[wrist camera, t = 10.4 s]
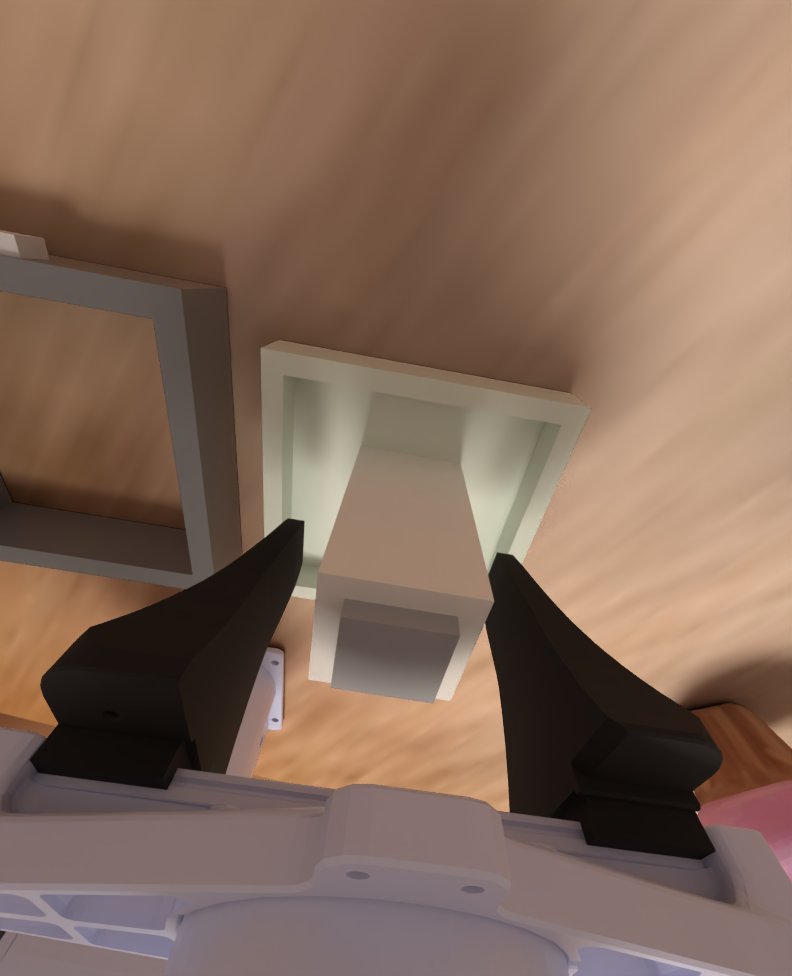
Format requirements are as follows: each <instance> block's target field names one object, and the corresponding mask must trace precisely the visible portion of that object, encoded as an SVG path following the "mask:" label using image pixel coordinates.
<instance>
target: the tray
mask: <svg viewBox="0 0 792 976" xmlns="http://www.w3.org/2000/svg"><path fill="white" fill-rule="evenodd" d="M260 349H261V398H262V448H263V497H264V538H265V537H266V536H267V535H268V534H270V533H271V532H272V531H273V530H274V529H275V528H277V527H278V526H279V525H280V524H281V523H282V522H284V521H285V520H286V519H288V518H290V519H296V520H302V521H305V525H304V546H303V564H302V567H301V570H300V573H299V576H298V579H297V583H296V586H295V588H294V591H293V593H292V595H291V596H293V597H300V598H306V599H313V600H315V599H316V588H317V577H318V570H319V568H320V565H321V562H322V559H323V556H324V553H325V550H326V547H327V544H328V541H329V538H330V535H331V532H332V529H333V526H334V523H335V520H336V517H337V514H338V511H339V508H340V506H341V503H342V500H343V497H344V494H345V491H346V488H347V485H348V482H349V479H350V476H351V473H352V470H353V467H354V464H355V461H356V458H357V455H358V452H359V449H360V446H366V447H371V448H377V449H382V450H388V451H393V452H399V453H405V454H410V455H416V456H421V457H427V458H432V459H438V460H443V461H449V462H454V463H460V464H461V467H462V471H463V475H464V479H465V483H466V487H467V491H468V496H469V500H470V504H471V508H472V512H473V516H474V520H475V524H476V528H477V532H478V536H479V541H480V545H481V549H482V553H483V557H484V561H485V565H486V569H487V573H488V574H489V571H490V569H491V566H492V564H493V561H494V559H495V556H496V554H497V552H498V553H504V554H511V555H514V557H515V558H516V559H517V560H518V561H519V562H520V563H521V565H522V562H523V560H524V558H525V556H526V554H527V551H528V549H529V547H530V545H531V542H532V540H533V538H534V536H535V533H536V531H537V529H538V527H539V525H540V522H541V520H542V518H543V516H544V513H545V511H546V509H547V507H548V504H549V502H550V500H551V498H552V496H553V493H554V491H555V489H556V487H557V484H558V482H559V480H560V478H561V475H562V473H563V471H564V469H565V467H566V464H567V462H568V460H569V458H570V455H571V453H572V451H573V449H574V447H575V444H576V442H577V440H578V438H579V435H580V433H581V431H582V429H583V426H584V424H585V422H586V420H587V418H588V415H589V413H590V411H591V409H592V408H591V407H589V406H588V405H587V404H585V403H584V402H583V401H581V400H580V399H578V398H577V397H576V396H574V395H573V394H571V393H567V392H561V391H556V390H550V389H545V388H539V387H534V386H528V385H523V384H517V383H512V382H506V381H501V380H496V379H490V378H485V377H479V376H474V375H468V374H463V373H457V372H452V371H446V370H441V369H435V368H430V367H424V366H419V365H414V364H408V363H403V362H397V361H392V360H386V359H381V358H375V357H370V356H364V355H359V354H353V353H348V352H343V351H337V350H332V349H326V348H321V347H315V346H310V345H304V344H299V343H293V342H288V341H282V340H278V341H276V342H273V343H271V344H269V345H266V346H264V347H261V348H260ZM484 626H486V625H485V624H484Z"/></svg>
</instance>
